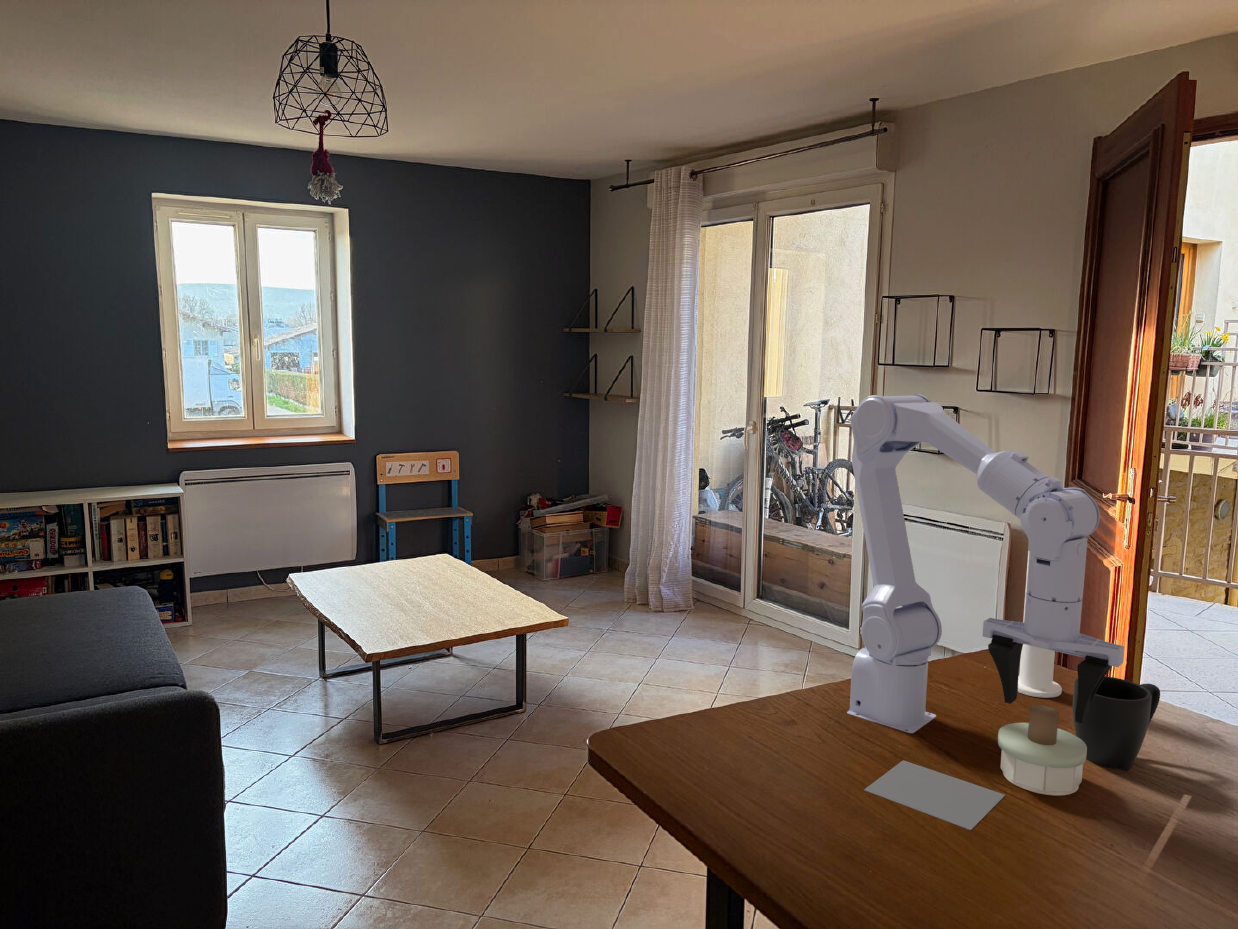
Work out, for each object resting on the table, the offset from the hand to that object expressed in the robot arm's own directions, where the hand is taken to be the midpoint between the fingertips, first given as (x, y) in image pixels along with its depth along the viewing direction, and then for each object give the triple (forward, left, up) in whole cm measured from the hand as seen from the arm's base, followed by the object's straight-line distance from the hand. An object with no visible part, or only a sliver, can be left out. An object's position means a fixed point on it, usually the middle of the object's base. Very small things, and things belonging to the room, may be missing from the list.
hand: (1044, 710), depth 101 cm
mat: (-7, -12, -9) cm, 17 cm away
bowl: (0, 0, -9) cm, 9 cm away
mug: (+5, +13, -9) cm, 17 cm away
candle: (-10, +30, -9) cm, 33 cm away
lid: (0, 0, -5) cm, 5 cm away
